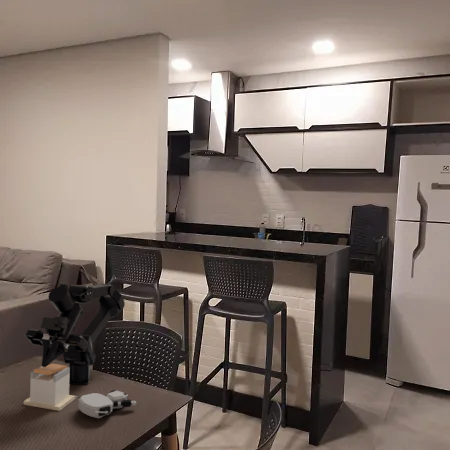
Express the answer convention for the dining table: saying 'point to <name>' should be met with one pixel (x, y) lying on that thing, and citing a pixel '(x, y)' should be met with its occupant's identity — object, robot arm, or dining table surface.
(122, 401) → the robot toy
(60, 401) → the box
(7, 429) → the dining table surface
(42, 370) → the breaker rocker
